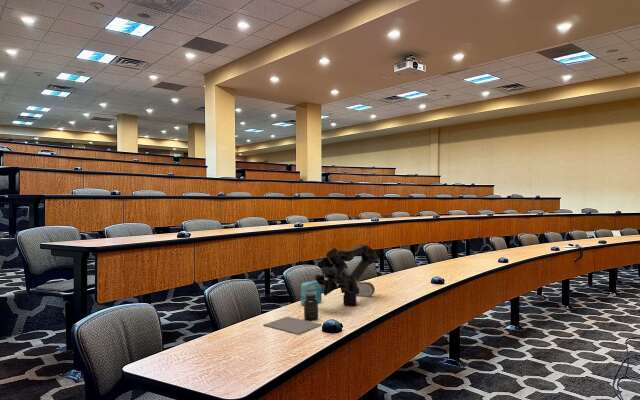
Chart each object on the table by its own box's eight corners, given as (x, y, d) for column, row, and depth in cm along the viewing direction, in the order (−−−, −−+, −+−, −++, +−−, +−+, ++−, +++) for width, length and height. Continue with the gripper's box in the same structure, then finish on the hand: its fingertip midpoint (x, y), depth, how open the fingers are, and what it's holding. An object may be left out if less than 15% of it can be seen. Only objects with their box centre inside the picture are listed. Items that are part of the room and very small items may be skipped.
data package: (306, 306, 225) (306, 284, 225) (300, 305, 228) (300, 283, 228) (321, 302, 234) (321, 280, 234) (316, 301, 237) (315, 280, 237)
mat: (287, 317, 205) (287, 316, 205) (322, 325, 191) (322, 324, 191) (263, 325, 193) (263, 324, 193) (298, 334, 179) (298, 333, 179)
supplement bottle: (303, 317, 205) (303, 293, 205) (317, 316, 205) (317, 292, 205) (304, 321, 198) (303, 296, 198) (318, 320, 199) (318, 295, 199)
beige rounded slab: (374, 296, 246) (374, 282, 246) (373, 297, 243) (373, 283, 243) (350, 294, 251) (349, 280, 251) (348, 296, 248) (348, 281, 248)
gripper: (316, 259, 220) (303, 283, 212) (345, 262, 209) (332, 287, 200) (326, 272, 227) (313, 296, 218) (354, 275, 215) (342, 301, 206)
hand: (324, 295), depth 210 cm, fingers closed
